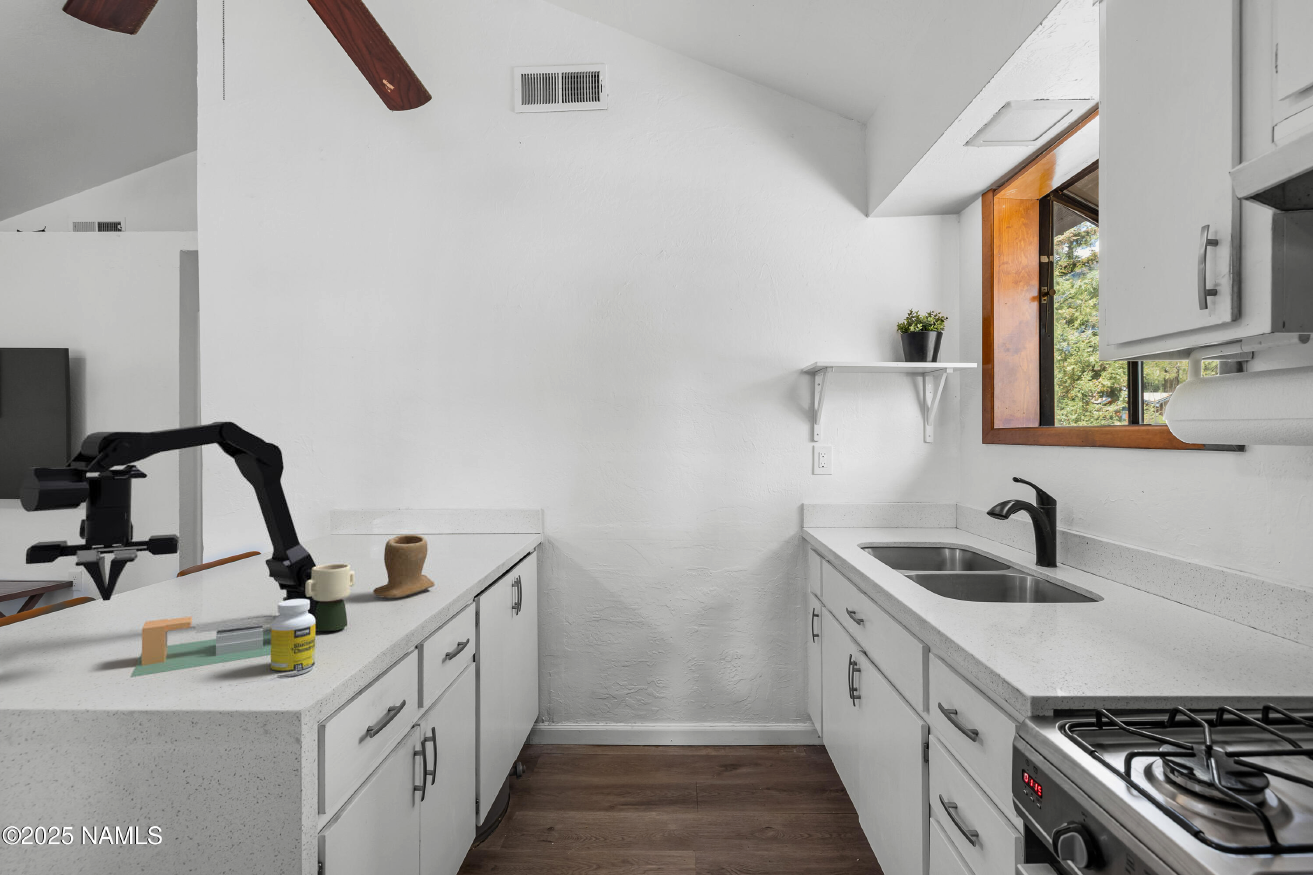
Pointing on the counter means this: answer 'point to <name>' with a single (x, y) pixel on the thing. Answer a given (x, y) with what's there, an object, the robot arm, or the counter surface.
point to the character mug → (330, 594)
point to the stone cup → (404, 566)
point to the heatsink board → (212, 650)
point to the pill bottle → (293, 638)
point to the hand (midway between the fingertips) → (106, 600)
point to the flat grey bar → (235, 624)
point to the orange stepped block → (159, 638)
